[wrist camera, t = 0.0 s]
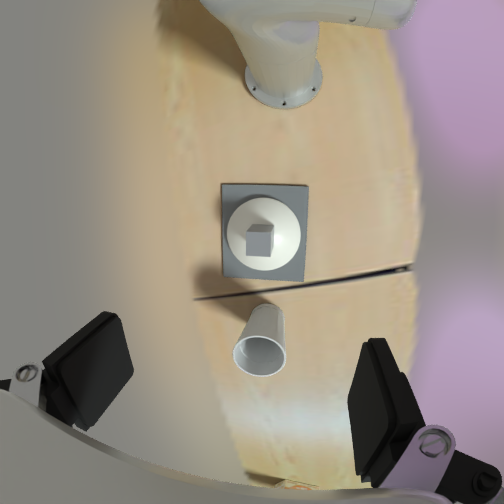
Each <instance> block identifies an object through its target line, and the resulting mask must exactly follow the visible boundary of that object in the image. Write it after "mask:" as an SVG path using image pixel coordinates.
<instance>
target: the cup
mask: <svg viewBox="0 0 504 504" xmlns="http://www.w3.org/2000/svg"><path fill="white" fill-rule="evenodd" d="M284 321H285V317H284V313H283V312H282V310H281V309H280V308H279V307H277V306H276V305H273V304H261V305H258V306H257V307H256V308H254V310H253V311H252V313H251V316H250V318H249V320H248V322H247V324H246V326H245V328H244V330H243V332H242V334H241V336H240V338H239V339H238V341H237V343H236V345H235V347H234V349H233V359H234V361H235V363H236V365H237V366H238V367H239V368H240V369H241V370H242V371H244V372H245V373H247V374H250V375H253V376H259V377H265V376H270V375H273V374H275V373H277V372H279V371H280V370H281V369H282V368H283V366H284V365H285V362H286V348H285V327H284Z"/></svg>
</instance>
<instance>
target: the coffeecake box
mask: <svg viewBox="0 0 504 504" xmlns="http://www.w3.org/2000/svg"><path fill="white" fill-rule="evenodd" d="M275 488H279V489H296V490H319V487H318V486H313V485H308V484H303V483H299V482H295V481H291V480H287V479H285V480H283V481H281V482H279V483H277V484H275Z"/></svg>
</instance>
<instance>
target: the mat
mask: <svg viewBox="0 0 504 504" xmlns="http://www.w3.org/2000/svg"><path fill="white" fill-rule="evenodd" d="M308 192H309V187H306V186H282V185H222V228H223V274H224V277H233V278H248V279H264V280H280V281H299V282H304V269H305V255H306V238H307V218H308ZM255 198H272V199H275V200H278V201H280V202H282V203H284V204H285V205H287V206H288V207H289V208H290V209H291V210H292V211H293V213H294V214H295V216H296V217H297V220H298V222H299V226H300V232H301V238H300V244H299V247H298V250H297V252H296V253H295V255H294V256H293V258H292V259H291V260H290V261H289V262H288V263H286V264H285V265H283V266H281V267H279V268H277V269H273V270H256V269H253V268H250V267H248V266H246V265H244V264H243V263H241V262H240V261H239V260H238V259H237V258H236V257H235V256H234V254H233V253H232V251H231V249H230V247H229V244H228V240H227V227H228V223H229V220H230V218H231V216H232V214H233V213H234V212H235V210H236V209H237V208H238V207H239V206H241V205H242V204H244V203H245V202H247V201H249V200H252V199H255Z"/></svg>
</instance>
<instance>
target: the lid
mask: <svg viewBox="0 0 504 504" xmlns="http://www.w3.org/2000/svg"><path fill="white" fill-rule="evenodd" d="M300 238H301V232H300V226H299V222H298V220H297V217H296V216H295V214H294V213H293V211H292V210H291V209H290V208H289V207H288V206H287V205H285V204H284V203H282V202H280V201H278V200H275V199H272V198H255V199H252V200H249V201H247V202H245V203H244V204H242V205H241V206H239V207H238V208H237V209H236V210H235V212H234V213H233V214H232V216H231V218H230V220H229V223H228V227H227V240H228V244H229V247H230V249H231V251H232V253H233V254H234V256H235V257H236V258H237V259H238V260H239V261H240V262H241V263H243V264H244V265H246V266H248V267H250V268H253V269H256V270H273V269H277V268H279V267H281V266H283V265H285V264H286V263H288V262H289V261H290V260H291V259H292V258H293V256H294V255H295V253H296V252H297V250H298V247H299V244H300Z"/></svg>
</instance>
